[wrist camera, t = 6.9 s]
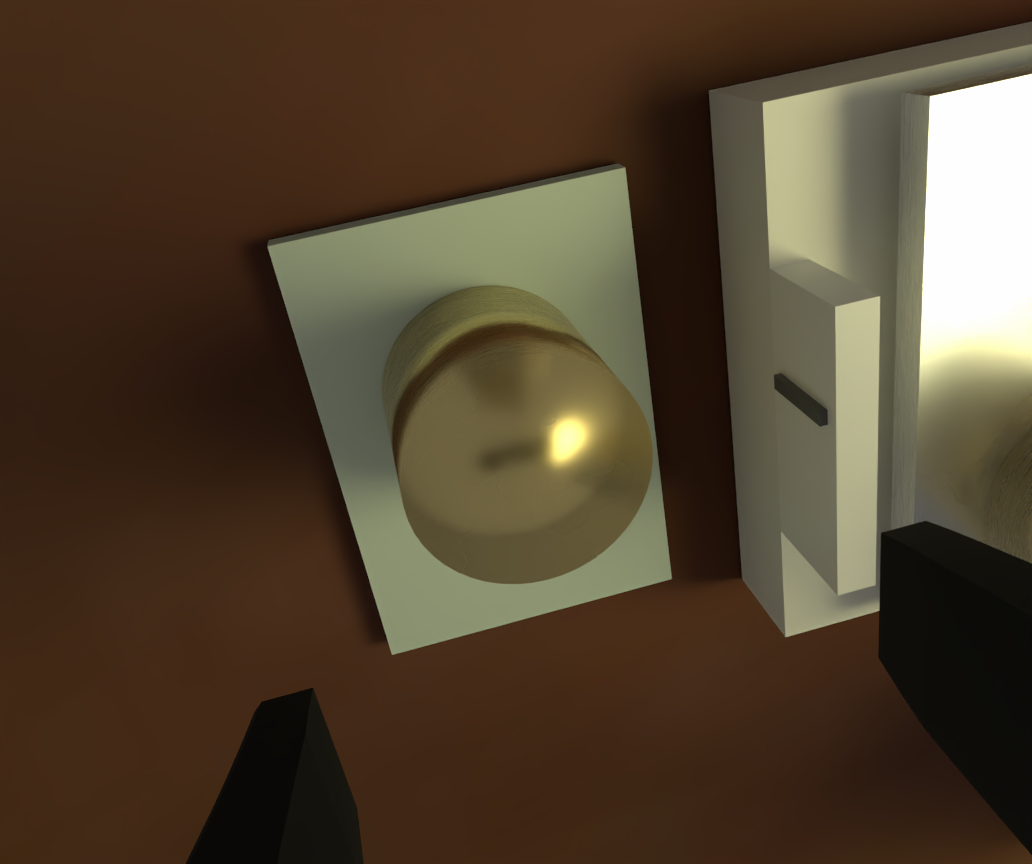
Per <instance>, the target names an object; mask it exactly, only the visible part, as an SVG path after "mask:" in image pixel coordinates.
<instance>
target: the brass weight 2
mask: <svg viewBox="0 0 1032 864" xmlns="http://www.w3.org/2000/svg"><path fill="white" fill-rule="evenodd" d="M984 528H985V535H986V538H987V541H988V544H989V546H992V547H994V548H996V549H999V550H1001V551H1004V552H1006V553H1008V554H1011V555H1013V556H1015V557H1018V558H1020V559H1023V560H1025V561H1027V562H1030V563H1032V429H1031V430H1030V431H1029V432H1028V433H1027V434H1026V435H1025V436H1024V437H1023V438H1022V439H1021V440H1020V441H1019V442H1018V443H1017V444H1016V446H1015V447H1014V448H1013V449H1012V450H1011V452H1010V453H1009V454H1008V456H1007V457H1006V459H1005V460H1004V462H1003V463H1002V465H1001V467H1000V468H999V470H998V472H997V474H996V476H995V478H994V480H993V483H992V485H991V487H990V490H989V494H988V497H987V500H986V506H985V512H984Z"/></svg>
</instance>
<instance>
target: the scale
mask: <svg viewBox="0 0 1032 864" xmlns="http://www.w3.org/2000/svg"><path fill="white" fill-rule="evenodd" d="M1028 64H1032V22H1027V23H1023V24H1018V25H1013V26H1009V27H1004V28H999V29H995V30H990V31H985V32H981V33H976V34H971V35H966V36H962V37H957V38H952V39H948V40H943V41H938V42H934V43H929V44H924V45H920V46H915V47H910V48H906V49H901V50H896V51H892V52H887V53H882V54H878V55H873V56H868V57H864V58H859V59H854V60H849V61H845V62H840V63H835V64H831V65H826V66H821V67H817V68H812V69H807V70H803V71H798V72H793V73H789V74H784V75H779V76H775V77H770V78H765V79H761V80H756V81H751V82H747V83H742V84H737V85H732V86H728V87H723V88H718V89H714V90H709V103H710V117H711V132H712V146H713V161H714V175H715V190H716V205H717V219H718V234H719V248H720V263H721V278H722V292H723V307H724V321H725V336H726V350H727V365H728V380H729V394H730V409H731V423H732V438H733V453H734V467H735V482H736V496H737V511H738V525H739V540H740V555H741V569H742V579H743V581H744V582H745V584H746V585H747V586H748V588H749V589H750V590H751V592H752V593H753V594H754V596H755V597H756V598H757V600H758V601H759V602H760V604H761V605H762V606H763V608H764V609H765V610H766V612H767V613H768V614H769V616H770V617H771V618H772V620H773V621H774V622H775V624H776V625H777V627H778V628H779V629H780V631H781V632H782V633H783V635H784V636H785V637H788V636H792V635H795V634H799V633H802V632H806V631H809V630H813V629H817V628H820V627H824V626H827V625H831V624H834V623H838V622H841V621H845V620H848V619H852V618H856V617H859V616H863V615H866V614H870V613H873V612H877V611H879V606H880V550H881V533H882V532H886V531H889V530H891V499H892V459H893V419H894V378H895V338H896V298H897V257H898V217H899V177H900V136H901V96H902V92H905V91H910V90H914V89H919V88H923V87H928V86H933V85H937V84H942V83H946V82H951V81H955V80H960V79H965V78H969V77H974V76H978V75H983V74H987V73H992V72H996V71H1001V70H1006V69H1010V68H1015V67H1019V66H1024V65H1028Z"/></svg>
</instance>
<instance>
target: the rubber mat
mask: <svg viewBox="0 0 1032 864" xmlns="http://www.w3.org/2000/svg"><path fill="white" fill-rule="evenodd" d="M267 247H268V250H269V254H270V257H271V260H272V263H273V267H274V270H275V273H276V277H277V280H278V283H279V286H280V290H281V293H282V296H283V299H284V303H285V306H286V309H287V313H288V316H289V319H290V322H291V326H292V329H293V332H294V336H295V339H296V342H297V345H298V349H299V352H300V355H301V358H302V362H303V365H304V368H305V372H306V375H307V378H308V381H309V385H310V388H311V391H312V395H313V398H314V401H315V404H316V408H317V411H318V414H319V417H320V421H321V424H322V427H323V431H324V434H325V437H326V440H327V444H328V447H329V450H330V453H331V457H332V460H333V463H334V467H335V470H336V473H337V476H338V480H339V483H340V486H341V490H342V493H343V496H344V499H345V503H346V506H347V509H348V512H349V516H350V519H351V522H352V526H353V529H354V532H355V535H356V539H357V542H358V545H359V548H360V552H361V555H362V558H363V562H364V565H365V568H366V571H367V575H368V578H369V581H370V585H371V588H372V591H373V594H374V598H375V601H376V604H377V607H378V611H379V614H380V617H381V621H382V624H383V627H384V630H385V634H386V637H387V640H388V644H389V647H390V650H391V653H392V655H394V654H397V653H401V652H405V651H408V650H412V649H416V648H419V647H423V646H427V645H431V644H434V643H438V642H442V641H445V640H449V639H453V638H456V637H460V636H464V635H467V634H471V633H475V632H478V631H482V630H486V629H489V628H493V627H497V626H501V625H504V624H508V623H512V622H515V621H519V620H523V619H526V618H530V617H534V616H537V615H541V614H545V613H548V612H552V611H556V610H559V609H563V608H567V607H570V606H574V605H578V604H582V603H585V602H589V601H593V600H596V599H600V598H604V597H607V596H611V595H615V594H618V593H622V592H626V591H629V590H633V589H637V588H640V587H644V586H648V585H651V584H655V583H659V582H663V581H666V580H670V579H672V576H671V567H670V558H669V549H668V541H667V532H666V523H665V514H664V505H663V496H662V488H661V479H660V470H659V461H658V452H657V443H656V434H655V426H654V417H653V408H652V399H651V390H650V381H649V373H648V364H647V355H646V346H645V337H644V328H643V320H642V311H641V302H640V293H639V284H638V275H637V267H636V258H635V249H634V240H633V231H632V222H631V214H630V205H629V196H628V187H627V178H626V169H625V167H623V166H622V165H620V164H618V163H617V164H613V165H608V166H603V167H599V168H594V169H590V170H585V171H581V172H576V173H572V174H567V175H563V176H558V177H553V178H549V179H544V180H540V181H535V182H531V183H526V184H522V185H517V186H513V187H508V188H503V189H499V190H494V191H490V192H485V193H481V194H476V195H472V196H467V197H463V198H458V199H453V200H449V201H444V202H440V203H435V204H431V205H426V206H422V207H417V208H413V209H408V210H403V211H399V212H394V213H390V214H385V215H381V216H376V217H372V218H367V219H363V220H358V221H354V222H349V223H344V224H340V225H335V226H331V227H326V228H322V229H317V230H313V231H308V232H304V233H299V234H294V235H290V236H285V237H281V238H276V239H272V240H268V246H267ZM494 285H498V286H507V287H514V288H518V289H522V290H525V291H528V292H530V293H533V294H535V295H538V296H539V297H541V298H543V299H545V300H546V301H548V302H550V303H551V304H552V305H554V306H555V307H556V308H557V309H559V310H560V311H561V312H562V313H563V314H564V315H565V316H566V317H567V318H568V320H569V321H570V322H571V323H572V324H573V325H574V327H575V328H576V329H577V330H578V331H579V333H580V334H581V335H582V336H583V337H584V338H585V340H586V341H587V342H588V343H589V344H590V346H591V347H592V348H593V349H594V350H595V352H596V353H597V354H598V355H599V356H600V357H601V359H602V360H603V361H604V362H605V363H606V365H607V366H608V367H609V368H610V369H611V371H612V372H613V373H614V374H615V375H616V376H617V378H618V379H619V380H620V381H621V382H622V384H623V385H624V386H625V387H626V388H627V389H628V391H629V392H630V393H631V394H632V396H633V397H634V399H635V400H636V401H637V403H638V404H639V406H640V408H641V410H642V412H643V414H644V416H645V418H646V421H647V424H648V427H649V430H650V434H651V440H652V446H653V464H652V473H651V478H650V482H649V486H648V490H647V492H646V495H645V497H644V500H643V502H642V505H641V506H640V508H639V510H638V512H637V514H636V516H635V517H634V519H633V520H632V522H631V523H630V524H629V526H628V527H627V529H626V530H625V531H624V532H623V533H622V534H621V536H620V537H619V538H618V539H617V540H616V541H615V542H614V543H613V544H612V545H611V546H610V547H608V548H607V549H606V550H605V551H604V552H603V553H601V554H600V555H598V556H597V557H596V558H594V559H593V560H591V561H590V562H588V563H586V564H585V565H583V566H581V567H579V568H578V569H575V570H573V571H571V572H568V573H566V574H564V575H561V576H558V577H555V578H552V579H549V580H544V581H539V582H534V583H525V584H498V583H491V582H485V581H481V580H477V579H474V578H470V577H468V576H466V575H463V574H461V573H458V572H456V571H455V570H453V569H451V568H449V567H448V566H446V565H444V564H443V563H442V562H440V561H439V560H438V559H436V558H435V557H434V556H433V555H432V554H431V553H430V552H429V551H428V550H427V549H426V548H425V547H424V546H423V545H422V543H421V542H420V541H419V539H418V538H417V536H416V535H415V533H414V532H413V530H412V528H411V526H410V524H409V522H408V519H407V516H406V513H405V510H404V507H403V502H402V497H401V492H400V487H399V482H398V477H397V472H396V467H395V462H394V457H393V452H392V447H391V442H390V437H389V432H388V427H387V422H386V417H385V412H384V406H383V400H382V381H383V372H384V368H385V365H386V361H387V358H388V356H389V353H390V351H391V348H392V346H393V344H394V343H395V341H396V339H397V338H398V336H399V334H400V333H401V332H402V330H403V329H404V328H405V327H406V325H407V324H408V323H409V322H410V321H411V320H412V319H413V318H414V317H415V316H416V315H417V314H418V313H419V312H421V311H422V310H423V309H425V308H426V307H427V306H428V305H430V304H432V303H433V302H435V301H437V300H438V299H440V298H442V297H444V296H446V295H449V294H451V293H454V292H456V291H460V290H463V289H467V288H471V287H478V286H494Z"/></svg>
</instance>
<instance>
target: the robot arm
mask: <svg viewBox="0 0 1032 864" xmlns="http://www.w3.org/2000/svg"><path fill="white" fill-rule="evenodd" d="M879 659H880V661H881V662H882V664H883V665H884V667H885V669H886V670H887V672H888V673H889V675H890V677H891V678H892V680H893V681H894V683H895V685H896V686H897V688H898V689H899V691H900V692H901V694H902V696H903V697H904V699H905V700H906V702H907V703H908V705H909V706H910V708H911V709H912V710H913V712H914V713H915V715H916V716H917V718H918V719H919V721H920V722H921V724H922V725H923V727H924V728H925V729H926V730H927V732H928V733H929V734H930V735H931V737H932V738H933V739H934V740H935V741H936V743H937V744H938V745H939V746H940V747H941V749H942V750H943V751H944V752H945V753H946V755H947V756H948V757H949V758H950V759H951V761H952V762H953V763H954V764H955V765H956V767H957V768H958V769H959V770H960V771H961V772H962V774H963V775H964V776H965V777H966V778H967V780H968V781H969V782H970V783H971V784H972V786H973V787H974V788H975V789H976V790H977V791H978V793H979V794H980V795H981V796H982V797H983V798H984V800H985V801H986V802H987V803H988V804H989V805H990V807H991V808H992V809H993V810H994V811H995V812H996V814H997V815H998V816H999V817H1000V818H1001V819H1002V821H1003V822H1004V823H1005V824H1006V825H1007V826H1008V828H1009V829H1010V830H1011V831H1012V832H1013V834H1014V835H1015V836H1016V837H1017V838H1018V839H1019V841H1020V842H1021V843H1022V844H1023V845H1024V846H1025V848H1026V849H1027V850H1028V851H1029V852H1030V853H1031V855H1032V563H1030V562H1027V561H1025V560H1023V559H1020V558H1018V557H1015V556H1013V555H1011V554H1008V553H1006V552H1004V551H1001V550H999V549H996V548H994V547H992V546H989V545H987V544H984V543H982V542H980V541H977V540H975V539H972V538H970V537H968V536H965V535H963V534H960V533H958V532H955V531H953V530H950V529H947V528H945V527H942V526H939V525H937V524H934V523H931V522H928V521H922V522H919V523H915V524H911V525H908V526H904V527H900V528H897V529H893V530H889V531H886V532H882V533H881V550H880V606H879ZM186 864H363V855H362V846H361V838H360V830H359V821H358V813H357V807H356V804H355V801H354V799H353V796H352V793H351V790H350V788H349V785H348V782H347V779H346V777H345V774H344V771H343V769H342V766H341V763H340V760H339V758H338V755H337V752H336V749H335V747H334V744H333V741H332V739H331V736H330V733H329V730H328V728H327V725H326V722H325V719H324V717H323V714H322V711H321V708H320V706H319V703H318V700H317V698H316V695H315V692H314V689H313V688H311V689H307V690H303V691H300V692H296V693H292V694H289V695H285V696H281V697H278V698H274V699H270V700H267V701H263V702H261V703H260V705H259V706H258V708H257V709H256V711H255V713H254V715H253V717H252V720H251V722H250V725H249V727H248V730H247V732H246V734H245V737H244V739H243V741H242V744H241V746H240V749H239V751H238V753H237V756H236V758H235V760H234V762H233V765H232V767H231V769H230V772H229V774H228V776H227V778H226V780H225V783H224V785H223V787H222V789H221V792H220V794H219V796H218V798H217V800H216V803H215V805H214V807H213V809H212V811H211V813H210V815H209V817H208V819H207V821H206V823H205V825H204V827H203V829H202V831H201V834H200V836H199V838H198V840H197V842H196V844H195V846H194V848H193V850H192V852H191V854H190V856H189V858H188V860H187V862H186Z"/></svg>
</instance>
